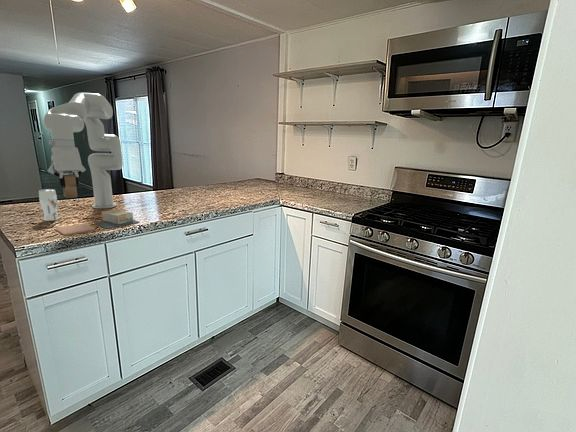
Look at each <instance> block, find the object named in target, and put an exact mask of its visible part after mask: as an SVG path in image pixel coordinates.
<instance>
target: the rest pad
mask: <svg viewBox="0 0 576 432" xmlns="http://www.w3.org/2000/svg"><path fill="white" fill-rule="evenodd" d="M55 231H57V232H58V233H59V234H61V235H63V236H64V237H65V236H71V235H77V234H78V235H79V234H82V233H88V232H93V231H96V228H95V227H93V226H91V225H89V224H87V223H79V224H73V225H67V226H66V225H65V226H60V227H55Z"/></svg>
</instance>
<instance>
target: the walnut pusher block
mask: <svg viewBox="0 0 576 432" xmlns="http://www.w3.org/2000/svg"><path fill="white" fill-rule="evenodd" d="M63 178H64V180H65V187H64V188H63V187H62V191H63V197H64V198H66V199H73V198H78V189H77V188H78V186H76V178H75V175H74V174H73V173H72V172H71V173H63Z"/></svg>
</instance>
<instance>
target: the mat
mask: <svg viewBox="0 0 576 432" xmlns="http://www.w3.org/2000/svg"><path fill="white" fill-rule="evenodd" d="M94 224H95V225H97V226H99V227H100V228H103V229H105V230H107V229H113V228H118V227H122V226H123V227H124V226H129V225H133V224H140V221H138V220H135V219H133V221H132V222H127V223H123V224H115V223H111V222H107V221H103V220H101V221H95V222H94Z"/></svg>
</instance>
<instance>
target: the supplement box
mask: <svg viewBox="0 0 576 432" xmlns="http://www.w3.org/2000/svg"><path fill="white" fill-rule="evenodd" d="M101 218H102V220H101V221H107V222H111V223H115V224H123V223H127V222H132V221H133V220H134V216H133V211H132V212H131V211H128V210H123V209H117V208H114V209H109V210H103V211H101Z"/></svg>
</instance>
